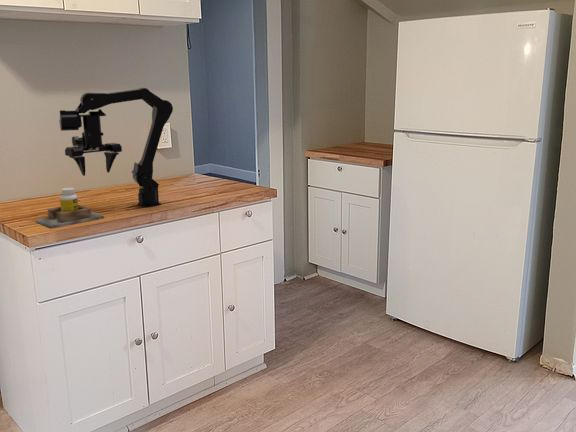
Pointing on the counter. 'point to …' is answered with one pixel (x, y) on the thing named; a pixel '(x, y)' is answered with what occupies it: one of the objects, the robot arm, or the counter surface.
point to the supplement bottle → (68, 200)
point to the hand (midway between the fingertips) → (96, 174)
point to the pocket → (67, 217)
